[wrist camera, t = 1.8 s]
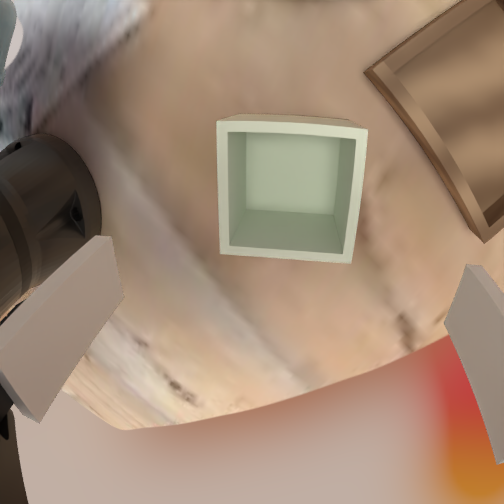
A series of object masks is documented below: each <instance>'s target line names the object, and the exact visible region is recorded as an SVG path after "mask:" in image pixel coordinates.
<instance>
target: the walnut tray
mask: <svg viewBox="0 0 504 504" xmlns="http://www.w3.org/2000/svg"><path fill="white" fill-rule="evenodd" d="M363 73H364V74H365V75H366V76H367V77H368V78H369V79H370V81H371V82H372V83H373V84H374V85H375V86H376V88H377V89H378V90H379V91H380V92H381V94H382V95H383V96H384V97H385V99H386V100H387V101H388V102H389V104H390V105H391V106H392V107H393V109H394V110H395V111H396V113H397V114H398V115H399V117H400V118H401V119H402V121H403V122H404V123H405V125H406V126H407V127H408V129H409V130H410V131H411V133H412V134H413V136H414V137H415V138H416V140H417V141H418V143H419V144H420V146H421V147H422V149H423V150H424V152H425V153H426V155H427V156H428V158H429V159H430V161H431V162H432V164H433V165H434V167H435V169H436V170H437V172H438V173H439V175H440V177H441V178H442V180H443V182H444V183H445V185H446V187H447V188H448V190H449V192H450V193H451V195H452V197H453V199H454V200H455V202H456V204H457V206H458V208H459V209H460V211H461V213H462V215H463V217H464V219H465V221H466V223H467V225H468V227H469V229H470V230H471V231H472V232H473V233H474V234H475V235H476V236H477V237H478V238H479V239H480V240H481V241H482V242H483V243H484V244H485V243H486V242H487V241H489V240H490V239H491V238H492V237H493V236H494V235H496V234H497V233H498V232H499V231H500V230H501V229H503V228H504V0H462V1H460V2H459V3H457V4H456V5H454V6H453V7H451V8H450V9H448V10H447V11H445V12H444V13H442V14H441V15H440V16H438V17H437V18H435V19H434V20H432V21H431V22H430V23H428V24H427V25H425V26H424V27H423V28H421V29H420V30H418V31H417V32H416V33H414V34H413V35H412V36H410V37H409V38H408V39H406V40H405V41H404V42H402V43H401V44H400V45H398V46H397V47H396V48H394V49H393V50H392V51H390V52H389V53H388V54H386V55H385V56H384V57H382V58H381V59H380V60H379V61H377V62H376V63H375V64H373V65H372V66H371V67H370V68H368V69H367V70H366V71H365V72H363Z"/></svg>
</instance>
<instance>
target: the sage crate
mask: <svg viewBox="0 0 504 504" xmlns="http://www.w3.org/2000/svg"><path fill="white" fill-rule="evenodd" d="M216 132H217V181H218V214H219V241H220V254H226V255H240V256H253V257H266V258H280V259H293V260H307V261H320V262H334V263H348V264H351V261H352V255H353V249H354V243H355V237H356V230H357V224H358V217H359V210H360V202H361V195H362V187H363V178H364V169H365V159H366V149H367V138H368V129H366V128H364V127H362V126H360V125H358V124H356V123H354V122H352V121H350V120H346V119H336V118H325V117H313V116H298V115H278V114H237V115H234V116H230V117H227V118H224V119H221V120H218V121H216Z"/></svg>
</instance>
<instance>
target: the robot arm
mask: <svg viewBox="0 0 504 504" xmlns="http://www.w3.org/2000/svg"><path fill="white" fill-rule="evenodd" d="M16 17H17V15H16V9H15V6H14V4H13V2H12V1H11V0H0V87H1V86H2V84H3V81H4V78H5V76H6V73H5V69H4V67H5V62H6V58H7V53H8V50H9V46H10V42H11V38H12V35H13V32H14V29H15V24H16ZM100 228H101V211H100V203H99V198H98V194H97V191H96V187H95V184H94V182H93V179H92V177H91V175H90V173H89V171H88V169H87V167H86V165H85V164H84V162H83V161H82V159H81V158H80V157H79V155H78V154H77V153H76V152H75V151H74V150H73V149H72V148H71V147H70V146H69V145H68V144H67V143H65V142H64V141H62V140H61V139H59V138H57V137H55V136H52V135H48V134H34V135H30V136H27V137H24V138H21V139H18V140H16V141H14V142H12V143H11V144H9V145H8V146H7V147H6V148H5V149H3V150H2V151H1V152H0V318H1V316H2V315H3V314H4V313H5V312H6V311H7V310H8V309H9V308H10V307H11V306H12V305H13V304H14V303H15V302H16V301H17V300H18V299H19V298H20V297H21V296H22V295H23V294H24V293H25V292H27V291H28V290H29V289H30V288H33V287H36V286H38V285H40V286H39V287H38V288H37V289H36V290H35V291H34V292H33V293H32V294H31V295H30V296H29V297H28V298H27V299H25V300H24V301H22V302H20V303H19V304H17V305H16V306H15V307H14V308H13V309H12V310H11V311H10V312H9V313H8V314H7V315H8V316H7V317H6V316H5V317H4V319H3V320H2V321H1V322H0V504H28V500H27V496H26V491H25V487H24V482H23V477H22V472H21V466H20V460H19V454H18V448H17V439H16V431H15V420H14V415H13V412H12V410H11V409H10V408H11V406H12V405H13V404H15V405H16V407H17V408H18V409H19V410H20V412H21V413H22V414H23V415H24V416H26V417H28V418H30V419H32V420H34V421H36V422H38V423H40V422H41V420H42V419H43V417H44V415H45V414H46V412H47V410H48V409H49V407H50V406H51V404H52V402H53V401H54V399H55V398H56V396H57V394H58V393H59V391H60V390H61V388H62V387H63V385H64V383H65V382H66V380H67V379H68V377H69V376H70V374H71V373H72V371H73V370H74V368H75V367H76V365H77V364H78V362H79V361H80V359H81V358H82V356H83V355H84V353H85V352H86V350H87V349H88V347H89V346H90V344H91V343H92V341H93V340H94V339H95V337H96V336H97V334H98V333H99V331H100V330H101V329H102V327H103V326H104V324H105V323H106V322H107V320H108V319H109V317H110V316H111V315H112V313H113V312H114V310H115V309H116V308H117V306H118V305H119V304H120V302H121V301H122V300H123V298H124V293H123V289H122V284H121V280H120V275H119V271H118V266H117V261H116V256H115V251H114V246H113V241H112V236H99V235H100ZM444 325H445V327H446V329H447V331H448V333H449V335H450V337H451V340H452V342H453V344H454V346H455V349H456V351H457V353H458V355H459V358H460V360H461V362H462V365H463V367H464V369H465V372H466V374H467V377H468V379H469V382H470V384H471V387H472V390H473V392H474V395H475V397H476V400H477V403H478V406H479V409H480V412H481V415H482V417H483V420H484V423H485V426H486V430H487V432H488V436H489V439H490V442H491V446H492V449H493V453H494V456H495V460H496V463H497V464H500V463H504V293H503V292H502V291H501V289H500V288H499V287H498V285H497V284H496V283H495V282H494V280H493V279H492V278H491V276H490V275H489V274H488V273H487V271H486V270H485V269H484V268H483V267H482V265H471V264H466V267H465V270H464V273H463V276H462V278H461V281H460V284H459V287H458V289H457V292H456V294H455V297H454V299H453V302H452V304H451V307H450V309H449V312H448V314H447V317H446V319H445V321H444Z"/></svg>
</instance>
